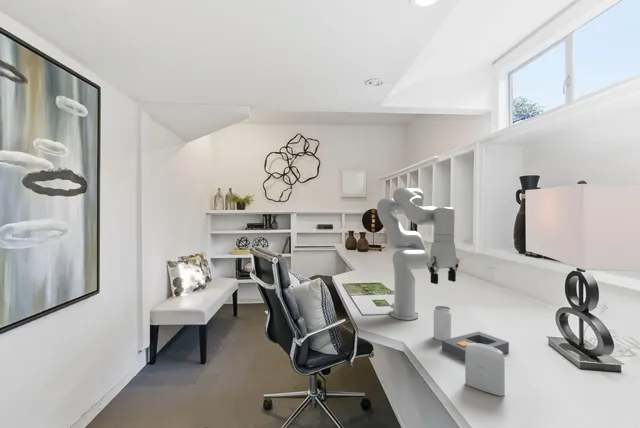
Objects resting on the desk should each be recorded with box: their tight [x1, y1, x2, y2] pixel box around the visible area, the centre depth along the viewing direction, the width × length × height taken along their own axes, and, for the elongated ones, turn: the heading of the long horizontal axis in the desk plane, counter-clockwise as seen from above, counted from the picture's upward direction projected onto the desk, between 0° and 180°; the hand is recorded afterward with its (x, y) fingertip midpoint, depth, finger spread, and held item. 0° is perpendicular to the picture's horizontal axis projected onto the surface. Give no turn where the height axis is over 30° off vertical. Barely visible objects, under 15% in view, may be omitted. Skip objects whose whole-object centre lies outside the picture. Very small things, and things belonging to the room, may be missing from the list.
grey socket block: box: [441, 331, 510, 362], centre depth 120 cm, size 12×20×4 cm, turn 118°
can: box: [433, 305, 452, 342], centre depth 132 cm, size 6×6×12 cm
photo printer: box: [464, 343, 506, 397], centre depth 95 cm, size 10×4×12 cm, turn 47°
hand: (443, 282), depth 132 cm, fingers open, 9 cm apart
